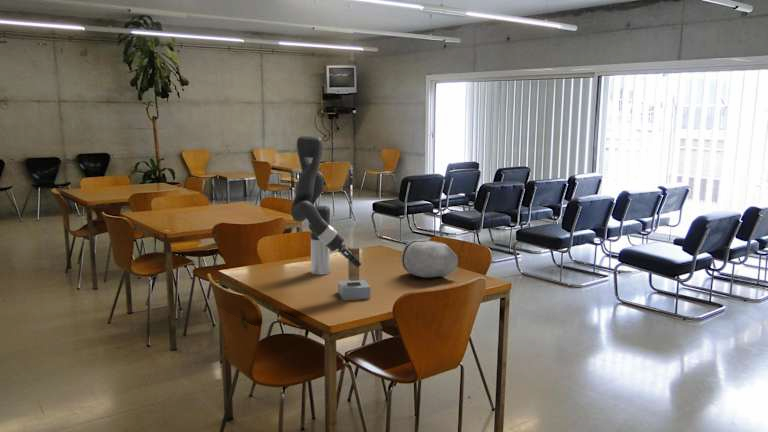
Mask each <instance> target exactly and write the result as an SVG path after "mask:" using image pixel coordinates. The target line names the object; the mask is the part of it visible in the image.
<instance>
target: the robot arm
mask: <svg viewBox="0 0 768 432" xmlns="http://www.w3.org/2000/svg"><path fill="white" fill-rule="evenodd" d="M296 151H297V156H298V161H299V163H300V169H301V174H300V176H299V178H298V181H297V186H296V194H295V196H294V199H293V202H292V205H291V208H290V215H291V217H292V220H294V221H295V222H303V221H305V220H307V221H308V223H309V224H308V230H310V231H311V233H310V273H311V274H312V275H317V276H318V275H319V276H320V275H321V276H322V275H328V274H331V271H330V270H331V265H330V264H331V260H330V259H331V255H330V254H331V252H335V251H336V250H337V252H338V253H339V254H340V255H342V256H343V258H344V259H347V260H350V262H352V263H353V264H354V265H355V266H357V267H359V268H360V266H361V265H362V263H361V262H360V260H359V261H358V260H357V259H356V258H355V257H354V256H353V255H352V252H350V251H349V247H347V246H346V245H345V244H343V243H344V241H345V238H344V237H343V236H342V234H340V233H339V232H338V231H337V230H336V229H335V228H334V227H332V225H330V223H331V222H330V221H331V210H330V207H329V206H328V205H315V203H316V202H317V199H319V197H320V196H322V193H323V191H324V189H325V188H324V187H325V186H324V185H325V184H324V178H323V174H322V173H321V172H320V170H319V168H320V164H321V160H322V157H323V152H324V142H323V139H322V137H320V136H309V135H302V136H299V137H298V138H297V141H296ZM311 158H312V160H310V159H311ZM351 256H352V258H351V259H349V258H350V257H351Z"/></svg>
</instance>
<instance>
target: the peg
mask: <svg viewBox="0 0 768 432" xmlns="http://www.w3.org/2000/svg"><path fill="white" fill-rule="evenodd" d="M348 249H349V251H350V252H352V255H353V256H354V257H355V258H356V259H357V260H358V261H359V262H360V247H359V246H348ZM351 258H352V256H351V257H350V258H349V259H351ZM347 260H348V259H347ZM347 262H348V266H347V267H348V271H347V272H348V274H347V275H348V276H347V277H348V281H358V280H360V266H359V267H357V266H355V265H354V264H353V263H352V262H350V260H348V261H347Z"/></svg>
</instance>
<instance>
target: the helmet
mask: <svg viewBox="0 0 768 432" xmlns="http://www.w3.org/2000/svg"><path fill="white" fill-rule="evenodd" d="M458 263H459V258H458V255H457V254H456V253H455V252H454V251H453V249H451V247H449V246H448V245H447V244H445V243H444V242H440V241H435V240H428V239H415V240H410V241H409V242H408V243H407V244H406V245H405V246H404V248H403V250H402V253H401V264H402V268H403V269H404V270H405V272H407V273H408V274H411V275H413V276H415V277H421V278H425V279H426V278H435V277H439V278H440V277H441V278H443V277H444V278H445V277H448V276H450V275H452V274H454V273H455V272H456V271H457V269H458Z"/></svg>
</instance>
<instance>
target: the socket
mask: <svg viewBox="0 0 768 432" xmlns="http://www.w3.org/2000/svg"><path fill="white" fill-rule="evenodd" d="M337 293H338V295H339V296H340V298H341V301H353V300H368V299H369V300H370V299H371V286H370V285H369V284H368V282H367V281H366V279H359V280H358V281H350V280H337Z"/></svg>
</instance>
